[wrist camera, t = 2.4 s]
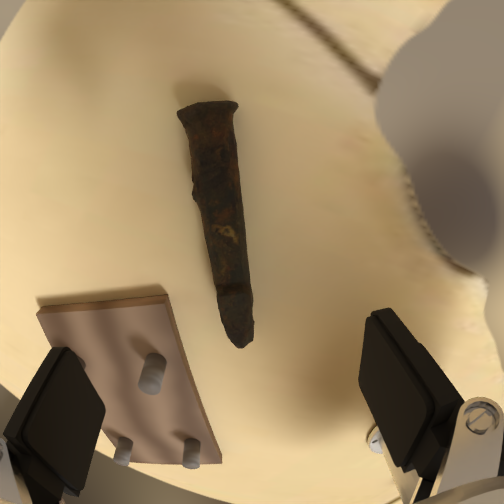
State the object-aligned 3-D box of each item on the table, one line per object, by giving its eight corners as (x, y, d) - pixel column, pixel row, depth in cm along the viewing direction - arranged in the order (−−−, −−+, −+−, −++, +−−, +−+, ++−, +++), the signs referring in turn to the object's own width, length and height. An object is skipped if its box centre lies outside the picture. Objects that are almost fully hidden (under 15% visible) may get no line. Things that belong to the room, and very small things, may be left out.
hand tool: (182, 108, 20) (170, 102, 16) (237, 102, 20) (238, 94, 16) (211, 329, 27) (208, 363, 23) (255, 326, 27) (259, 359, 23)
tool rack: (167, 294, 25) (156, 328, 21) (221, 454, 35) (222, 484, 30) (42, 306, 25) (18, 334, 20) (128, 454, 35) (123, 480, 30)
